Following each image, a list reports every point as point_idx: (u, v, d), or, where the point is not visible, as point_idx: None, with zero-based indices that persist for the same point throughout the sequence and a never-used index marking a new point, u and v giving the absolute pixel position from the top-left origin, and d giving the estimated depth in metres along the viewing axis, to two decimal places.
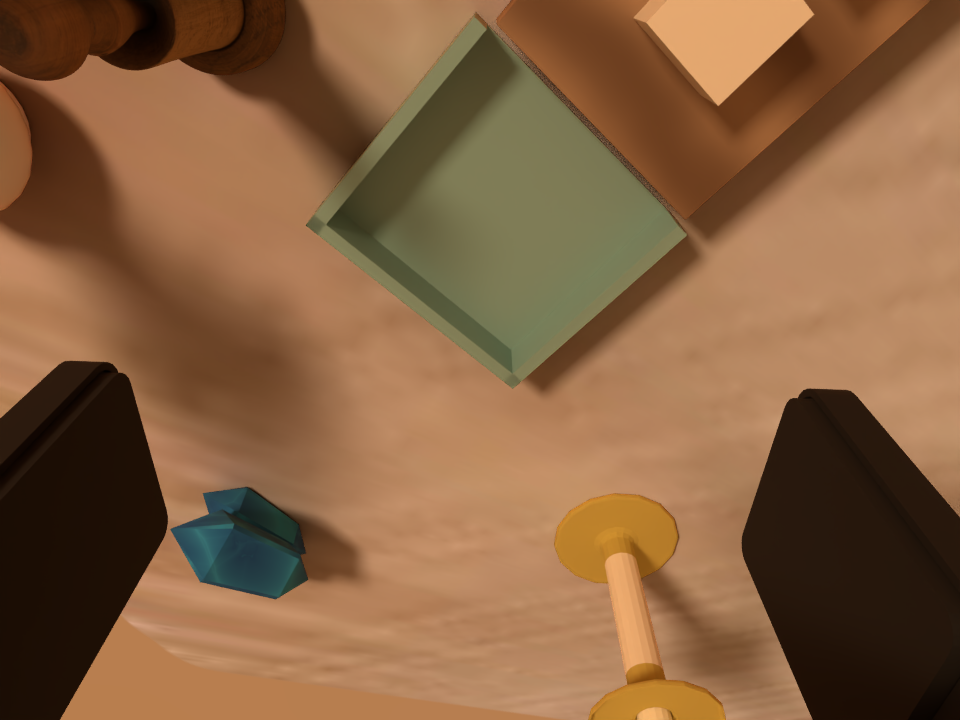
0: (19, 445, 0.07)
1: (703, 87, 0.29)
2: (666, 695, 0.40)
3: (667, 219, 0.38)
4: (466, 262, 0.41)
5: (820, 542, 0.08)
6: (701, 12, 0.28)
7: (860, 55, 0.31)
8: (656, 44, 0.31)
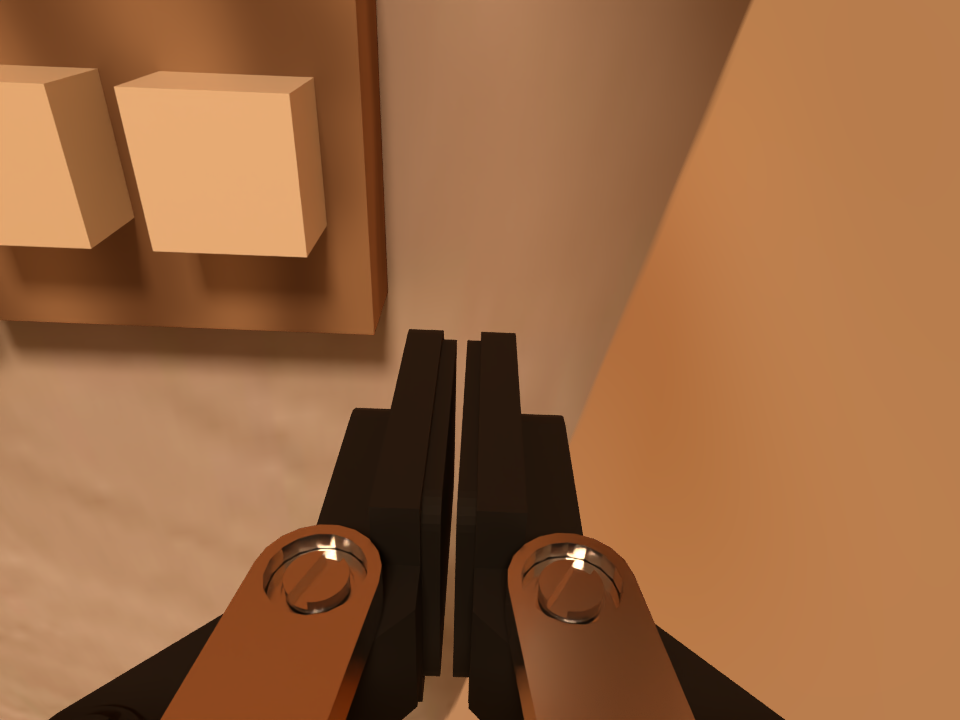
0: (430, 396, 0.08)
1: None
2: None
3: None
4: None
5: None
6: None
7: (190, 321, 0.26)
8: None
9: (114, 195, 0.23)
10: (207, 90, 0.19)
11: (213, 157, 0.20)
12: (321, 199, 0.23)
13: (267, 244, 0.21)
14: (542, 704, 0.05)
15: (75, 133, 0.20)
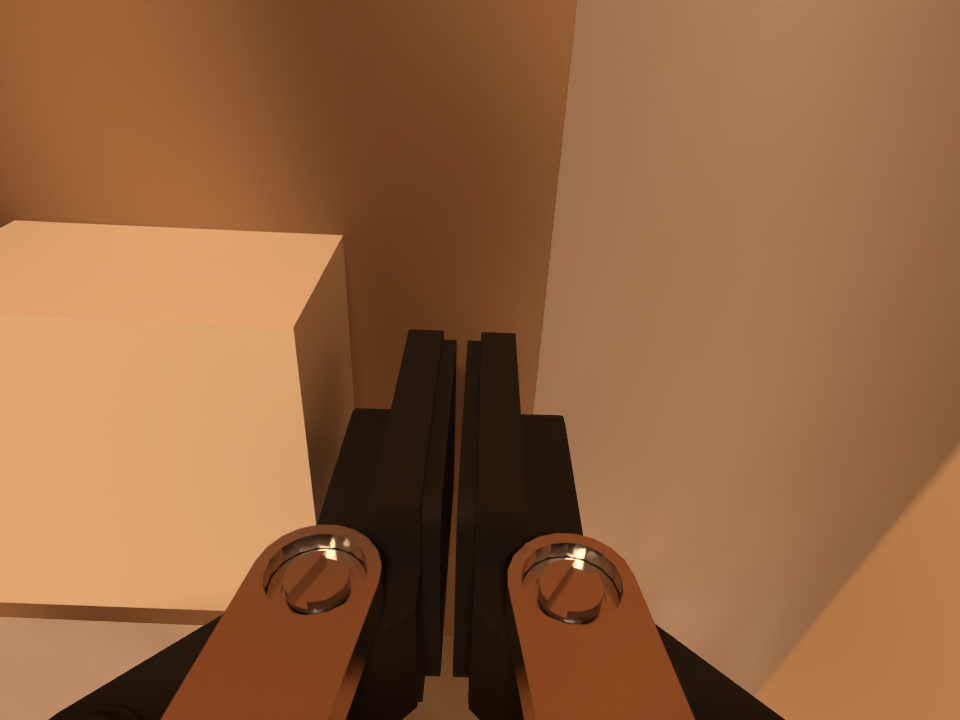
0: (431, 396, 0.08)
1: None
2: None
3: None
4: None
5: None
6: None
7: (186, 616, 0.15)
8: None
9: None
10: (90, 316, 0.08)
11: (114, 448, 0.08)
12: None
13: None
14: (542, 704, 0.05)
15: None
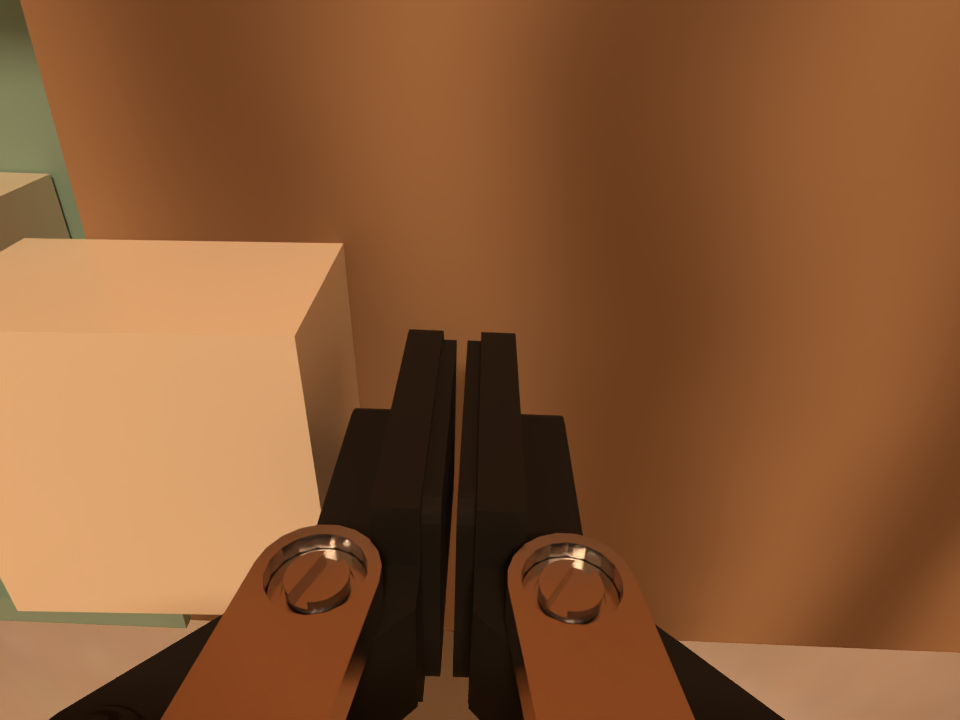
0: (431, 396, 0.08)
1: None
2: None
3: None
4: None
5: None
6: None
7: None
8: None
9: None
10: (97, 331, 0.08)
11: (125, 458, 0.09)
12: None
13: None
14: (542, 704, 0.05)
15: None
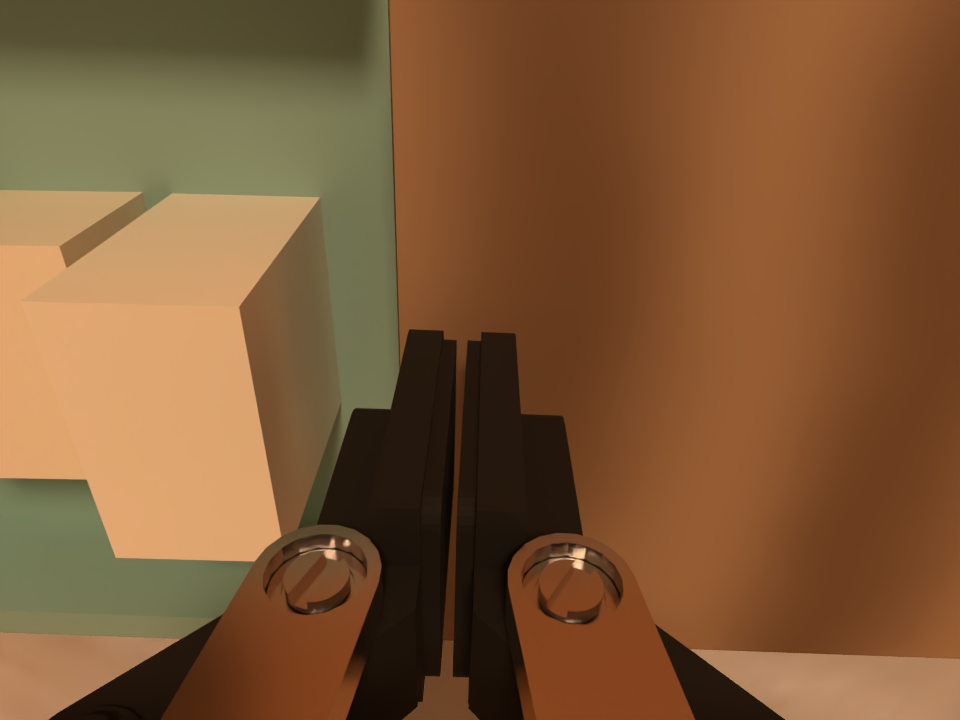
0: (430, 396, 0.08)
1: None
2: None
3: None
4: None
5: None
6: None
7: (884, 648, 0.15)
8: None
9: None
10: (108, 240, 0.11)
11: None
12: (251, 515, 0.11)
13: None
14: (542, 704, 0.05)
15: None
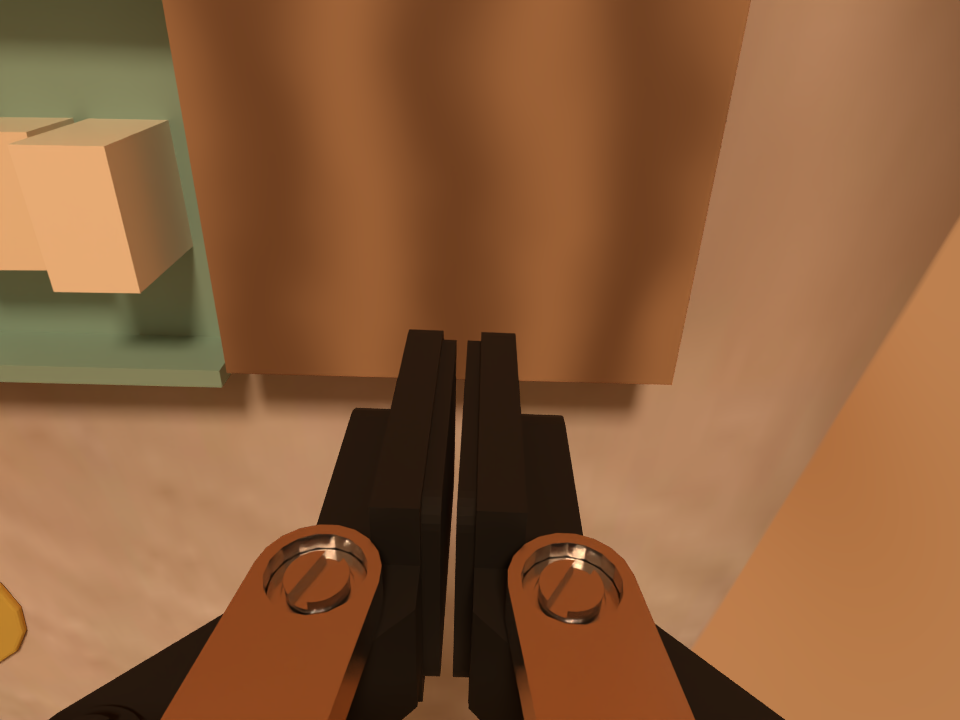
0: (430, 396, 0.08)
1: None
2: None
3: None
4: None
5: None
6: None
7: None
8: None
9: None
10: None
11: None
12: (119, 263, 0.23)
13: None
14: (542, 704, 0.05)
15: None
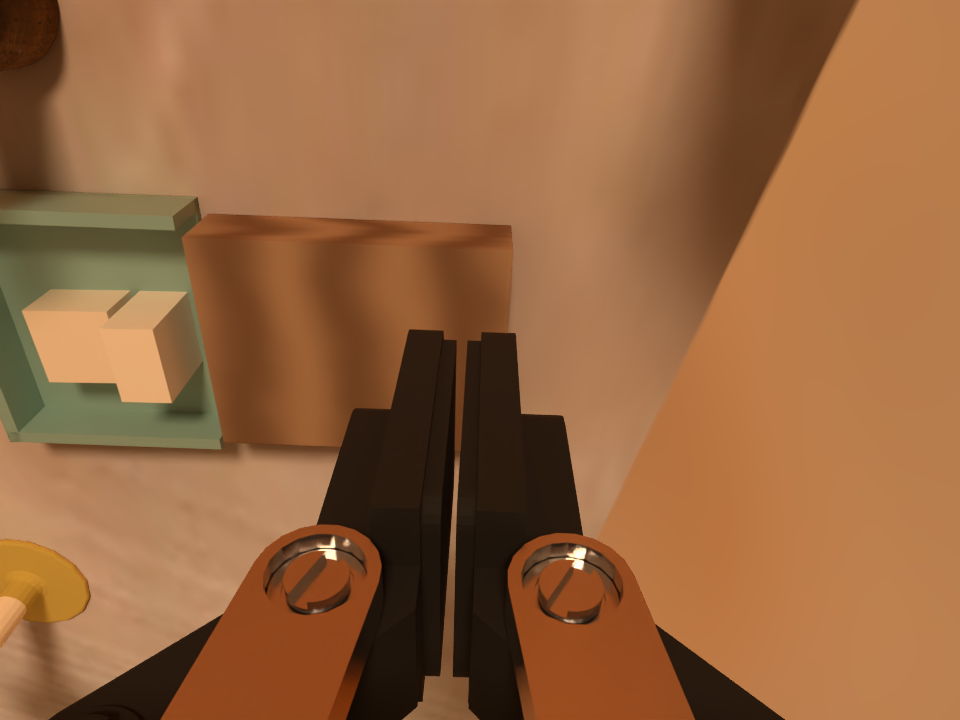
0: (430, 396, 0.08)
1: None
2: None
3: None
4: None
5: None
6: None
7: None
8: None
9: None
10: None
11: None
12: (160, 387, 0.39)
13: None
14: (542, 704, 0.05)
15: None
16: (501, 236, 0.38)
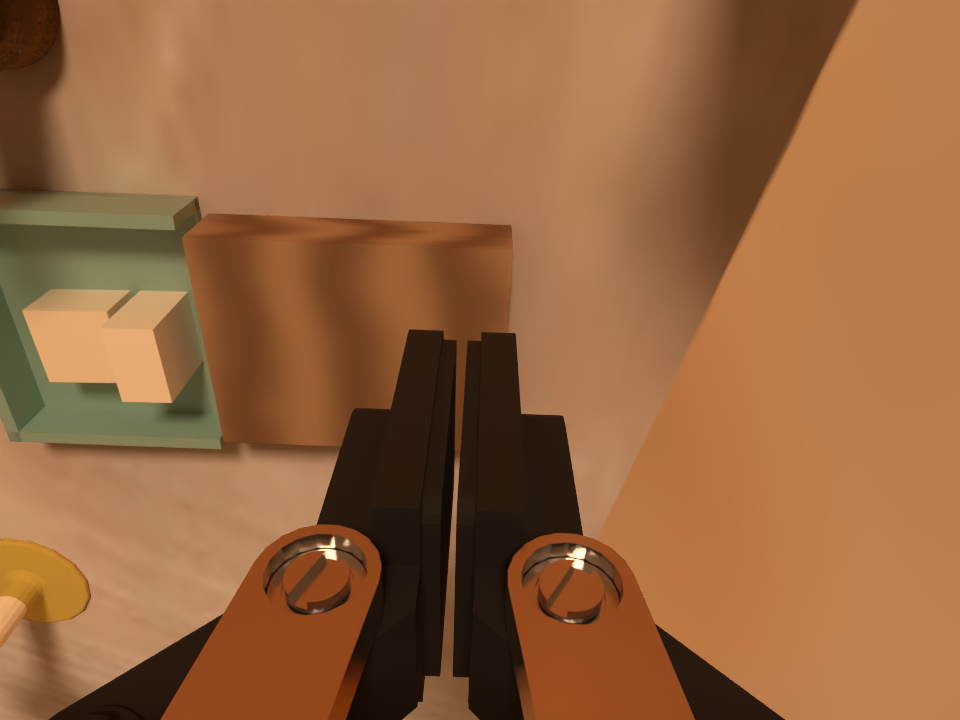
0: (430, 396, 0.08)
1: None
2: None
3: None
4: None
5: None
6: None
7: None
8: None
9: None
10: (120, 309, 0.39)
11: None
12: (160, 387, 0.39)
13: None
14: (542, 704, 0.05)
15: None
16: (501, 236, 0.38)
